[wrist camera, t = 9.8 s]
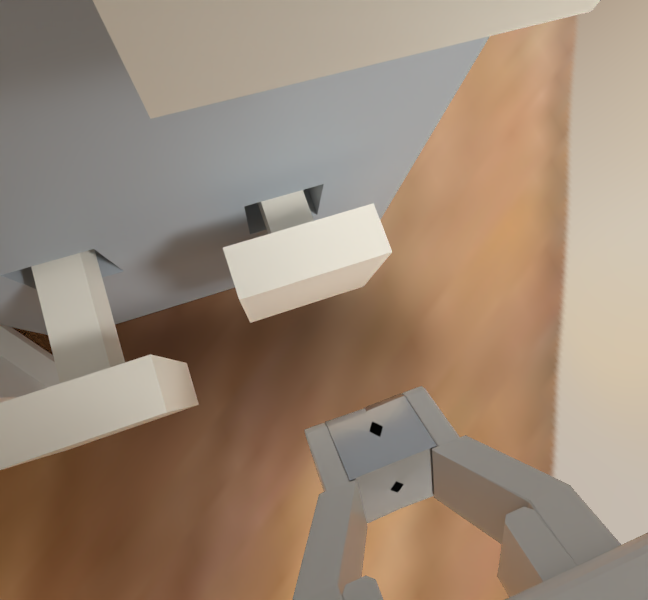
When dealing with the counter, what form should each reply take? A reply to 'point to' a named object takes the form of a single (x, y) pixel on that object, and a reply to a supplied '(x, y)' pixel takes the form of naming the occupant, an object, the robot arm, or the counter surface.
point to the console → (182, 159)
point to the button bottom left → (86, 372)
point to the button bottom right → (305, 256)
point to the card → (23, 365)
